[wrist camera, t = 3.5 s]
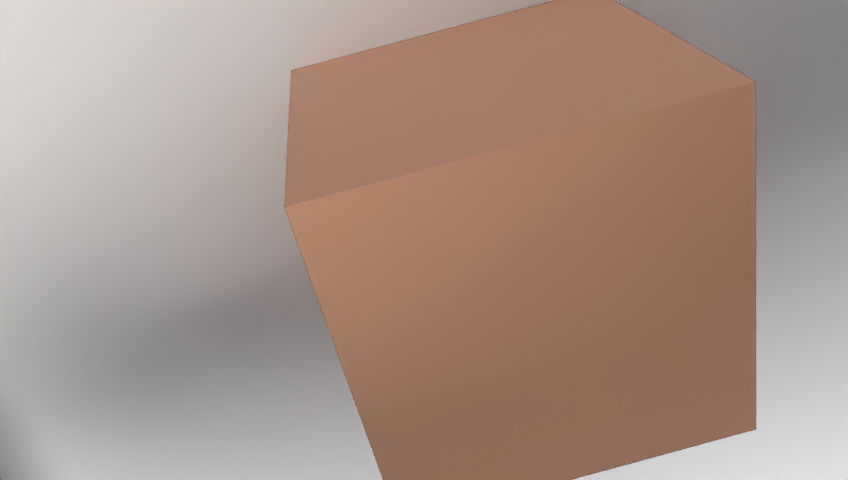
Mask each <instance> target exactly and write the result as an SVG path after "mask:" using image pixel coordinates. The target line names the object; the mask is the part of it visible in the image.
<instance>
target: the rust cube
mask: <svg viewBox="0 0 848 480" xmlns="http://www.w3.org/2000/svg"><path fill="white" fill-rule="evenodd" d="M284 208H285V210H286V213H287V216H288V219H289V221H290V224H291V227H292V230H293V232H294V235H295V238H296V241H297V243H298V246H299V249H300V252H301V255H302V257H303V260H304V263H305V266H306V268H307V271H308V274H309V277H310V279H311V282H312V285H313V288H314V290H315V293H316V296H317V299H318V301H319V304H320V307H321V310H322V313H323V315H324V318H325V321H326V324H327V326H328V329H329V332H330V335H331V337H332V340H333V343H334V346H335V348H336V351H337V354H338V357H339V359H340V362H341V365H342V368H343V371H344V373H345V376H346V379H347V382H348V384H349V387H350V390H351V393H352V395H353V398H354V401H355V404H356V406H357V409H358V412H359V415H360V417H361V420H362V423H363V426H364V429H365V431H366V434H367V437H368V440H369V442H370V445H371V448H372V451H373V453H374V456H375V459H376V462H377V464H378V467H379V470H380V473H381V475H382V478H383V480H572V479H576V478H579V477H583V476H587V475H590V474H594V473H598V472H601V471H605V470H609V469H612V468H616V467H620V466H623V465H627V464H631V463H634V462H638V461H642V460H645V459H649V458H653V457H656V456H660V455H664V454H667V453H671V452H675V451H678V450H682V449H686V448H689V447H693V446H697V445H700V444H704V443H708V442H711V441H715V440H719V439H722V438H726V437H730V436H733V435H737V434H741V433H744V432H748V431H752V430H755V429H756V109H755V81H754V80H752V79H751V78H749V77H747V76H745V75H744V74H742V73H740V72H738V71H737V70H735V69H733V68H731V67H730V66H728V65H726V64H724V63H723V62H721V61H719V60H717V59H716V58H714V57H712V56H711V55H709V54H707V53H705V52H704V51H702V50H700V49H698V48H697V47H695V46H693V45H691V44H690V43H688V42H686V41H684V40H683V39H681V38H679V37H677V36H676V35H674V34H672V33H670V32H669V31H667V30H665V29H664V28H662V27H660V26H658V25H657V24H655V23H653V22H651V21H650V20H648V19H646V18H644V17H643V16H641V15H639V14H637V13H636V12H634V11H632V10H630V9H629V8H627V7H625V6H624V5H622V4H620V3H618V2H617V1H615V0H554V1H550V2H546V3H542V4H539V5H535V6H531V7H527V8H524V9H520V10H516V11H512V12H509V13H505V14H501V15H497V16H494V17H490V18H486V19H482V20H478V21H475V22H471V23H467V24H463V25H460V26H456V27H452V28H448V29H445V30H441V31H437V32H433V33H430V34H426V35H422V36H418V37H415V38H411V39H407V40H403V41H400V42H396V43H392V44H388V45H385V46H381V47H377V48H373V49H370V50H366V51H362V52H358V53H354V54H351V55H347V56H343V57H339V58H336V59H332V60H328V61H324V62H321V63H317V64H313V65H309V66H306V67H302V68H298V69H294V70H291V85H290V105H289V125H288V145H287V165H286V185H285V205H284Z"/></svg>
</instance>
